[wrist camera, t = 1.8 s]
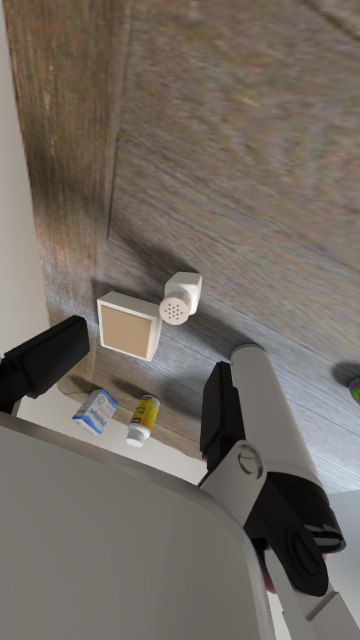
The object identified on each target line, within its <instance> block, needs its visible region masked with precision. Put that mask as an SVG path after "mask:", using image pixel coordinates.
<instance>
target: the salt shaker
mask: <svg viewBox="0 0 360 640" xmlns="http://www.w3.org/2000/svg"><path fill="white" fill-rule="evenodd" d="M201 283H202V276H201V274H199V273H189V272H177V273H176V274H175V275H174V276H173V277H172V278H171V279H170V280H169V281H167V283H166V285H165V298H164V299H163V300H162V301H161V303H160V307H159V312H160V315H161V317H162V318H163V319H164V320H165V321H166V322H167V323H170V324H172V325H178V324H182V323H183V322H185V321H186V320H187V318H188V316H189V315H191V314H194V313H195V312H196V309H197V306H198V302H199V298H200V292H201Z"/></svg>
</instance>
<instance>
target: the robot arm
mask: <svg viewBox="0 0 360 640" xmlns="http://www.w3.org/2000/svg"><path fill="white" fill-rule="evenodd" d="M89 351H90V345H89V337H88V329H87V322H86V320H85V318H83V317H80V316H77V315H73V316H71V317H69V318H68V319H66V320H64V321H62V322H60V323H59V324H57V325H55V326H53V327H51V328H50V329H48V330H46V331H44V332H42V333H41V334H39V335H37V336H35V337H33V338H32V339H30V340H28V341H26V342H24V343H22V344H21V345H19V346H17V347H15V348H13V349H12V350H10V351H8V352H6V353H5V354H4V356H5V357H4V358H3V359H1V357H0V640H276V637H275V631H274V625H273V621H272V615H271V610H270V605H269V600H268V595H267V591H266V587H265V582H264V578H263V574H262V571H261V568H262V570H263V572H264V573H265V575H266V576H267V578H268V579H269V581H270V582H271V583H272V584H273V585H274V587H275V590H276V592H277V595H278V597H279V600H280V603H281V605H282V608H283V610H284V611H283V612H282V614H283V617H284V620H285V622H286V625H287V627H288V630H289V633H290V636H291V639H292V640H360V630H359V628H358V626H357V624H356V622H355V621H354V619H353V617H352V615H351V613H350V612H349V610H348V608H347V606H346V604H345V602H344V601H343V599H342V597H341V595H340V593H339V592H335V591H334V589H333V587H332V585H331V584H330V582H329V578H328V573H327V568H326V564H325V561H324V558H323V555H322V553H321V551H320V549H319V547H318V545H317V543H316V541H315V540H314V538H313V537H312V535H311V534H310V532H309V531H308V530H307V528H306V527H305V526H304V524H303V523H302V522H301V520H300V519H299V518H298V516H297V515H296V514H295V512H294V511H293V510H292V508H291V507H290V506H289V504H288V503H287V502H286V500H285V499H284V498H283V496H282V495H281V494H280V492H279V491H278V490H277V488H276V487H275V486H274V484H273V483H272V482H271V480H270V479H269V478H268V476H267V468H266V464H265V461H264V459H263V457H262V455H261V453H260V452H259V450H258V449H257V448H256V447H255V446H254V445H253V444H252V443H250V442H248V441H246V435H245V429H244V423H243V417H242V410H241V404H240V398H239V392H238V389H237V388H236V387H234V386H233V382H232V374H231V367H230V363H226V362H223V361H220V363H219V362H217V363H216V365H215V367H214V369H213V371H212V373H211V375H210V377H209V379H208V381H207V383H206V385H205V387H204V391H203V405H202V420H201V435H200V451H201V452H203V453H202V459H205V460H207V470H208V472H207V473H206V474H205V476H204V477H203V478H202V479H201V481H200V482H199V483H198V484H197V486H196V485H194V484H192V483H189V482H188V481H185V480H183V479H181V478H178V477H176V476H174V475H171V474H169V473H166V472H164V471H161V470H158V469H156V468H154V467H151V466H149V465H146V464H143V463H140V462H138V461H135V460H132V459H130V458H127V457H124V456H121V455H119V454H116V453H113V452H111V451H108V450H106V449H103V448H100V447H97V446H95V445H92V444H89V443H87V442H84V441H81V440H78V439H76V438H73V437H70V436H67V435H65V434H62V433H59V432H57V431H54V430H51V429H48V428H45V427H42V426H40V425H37V424H34V423H32V422H29V421H26V420H23V419H21V418H18V417H16V415H17V412H18V409H19V406H20V403H21V399H22V397H24V396H25V395H27V396H28V397H31V398H33V399H36V398H37V397H38V396H39V395H41V394H44V393H45V392H46V391H47V390H48V389H49V388H51V387H52V386H53V385H54V384H55V383H56V382H57V381H58V380H59V379H60V378H62V377H63V376H64V375H65V374H66V373H67V372H68V371H69V370H70V369H71V368H72V367H73V366H75V365H76V364H77V363H78V362H79V361H80V360H81V359H82V358H83V357H84V356H85V355H87V354H88V352H89ZM260 566H261V567H260Z"/></svg>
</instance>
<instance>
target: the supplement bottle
mask: <svg viewBox="0 0 360 640" xmlns="http://www.w3.org/2000/svg"><path fill="white" fill-rule="evenodd" d="M159 406H160V402H159V400H158V399H157V398H156V397H154V396H152V395H144V396H143V397H142V398H141V400H140V402H139V404H138V406H137V408H136V411H135V413H134V415H133V417H132V419H131V421H130V423H129V426H128V431H129V434H128V436H127V438H126V441H127V443H129V444H130V445H132V446H135V447H142V445H143V442H144V440H145V438H148V437H149V435H150V433H151V430H152V427H153V424H154V421H155V418H156V415H157V412H158V409H159Z"/></svg>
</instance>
